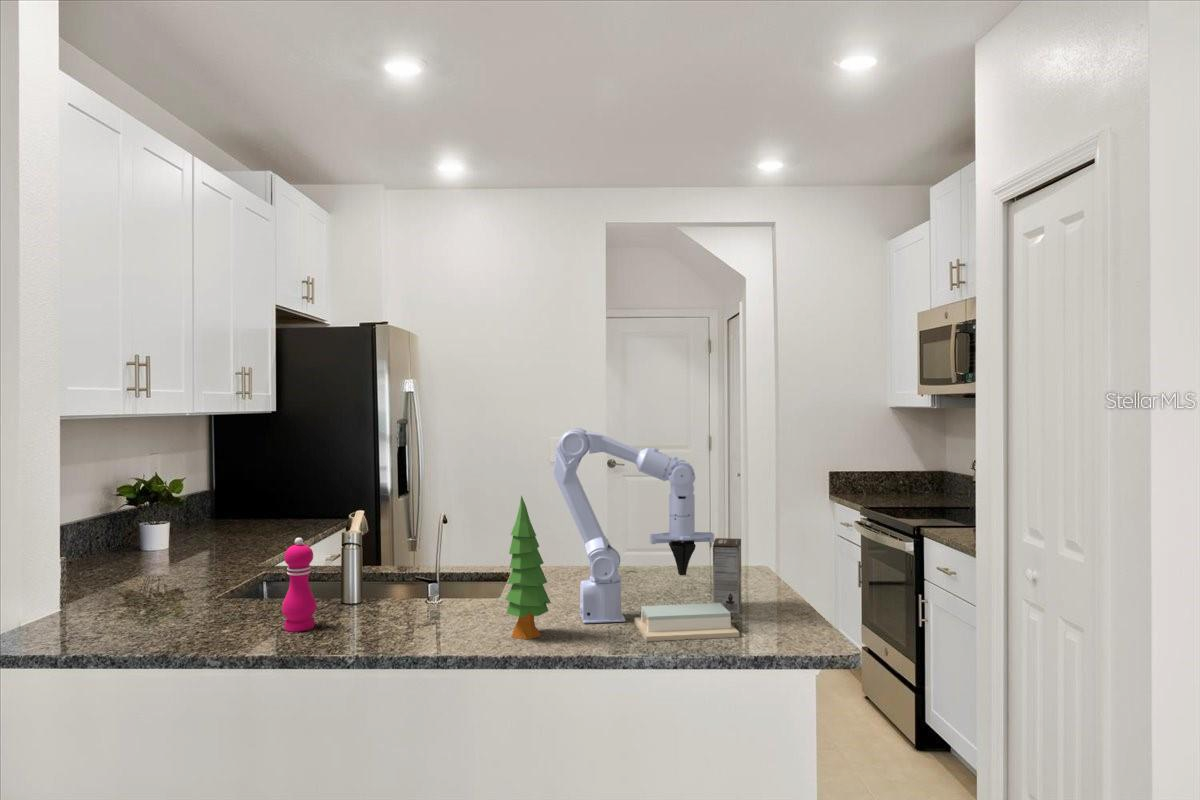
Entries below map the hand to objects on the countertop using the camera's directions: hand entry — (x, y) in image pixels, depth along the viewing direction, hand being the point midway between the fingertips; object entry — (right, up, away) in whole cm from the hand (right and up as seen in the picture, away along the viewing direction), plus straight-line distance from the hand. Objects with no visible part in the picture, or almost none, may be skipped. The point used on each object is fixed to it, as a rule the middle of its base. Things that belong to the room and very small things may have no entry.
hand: (682, 574), depth 184 cm
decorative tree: (-34, -11, -11) cm, 37 cm away
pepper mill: (-85, -11, -4) cm, 86 cm away
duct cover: (0, -7, -7) cm, 10 cm away
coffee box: (+12, -10, +10) cm, 19 cm away
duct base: (0, -11, -7) cm, 13 cm away
